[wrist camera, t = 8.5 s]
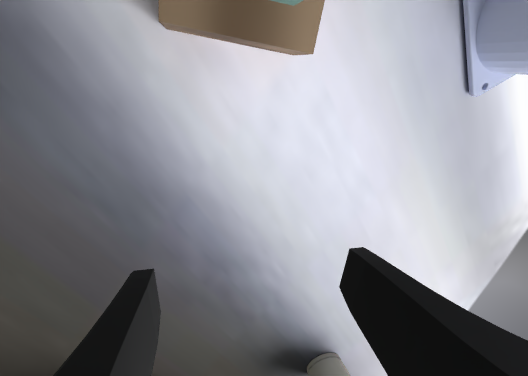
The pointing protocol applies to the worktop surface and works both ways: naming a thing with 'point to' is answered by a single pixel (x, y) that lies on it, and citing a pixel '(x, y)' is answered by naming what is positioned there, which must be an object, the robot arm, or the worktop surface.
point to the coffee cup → (327, 366)
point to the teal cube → (288, 1)
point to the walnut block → (247, 22)
